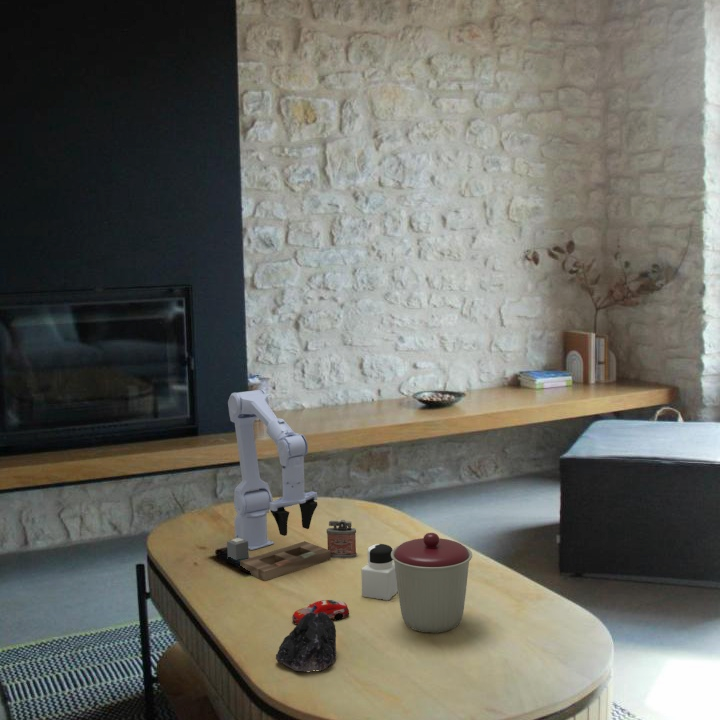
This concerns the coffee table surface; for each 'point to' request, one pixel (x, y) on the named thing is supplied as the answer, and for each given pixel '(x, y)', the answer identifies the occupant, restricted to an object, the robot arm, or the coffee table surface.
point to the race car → (324, 610)
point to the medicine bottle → (379, 573)
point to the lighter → (341, 539)
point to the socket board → (285, 560)
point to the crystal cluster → (309, 644)
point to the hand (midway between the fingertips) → (294, 531)
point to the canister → (431, 582)
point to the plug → (237, 548)
